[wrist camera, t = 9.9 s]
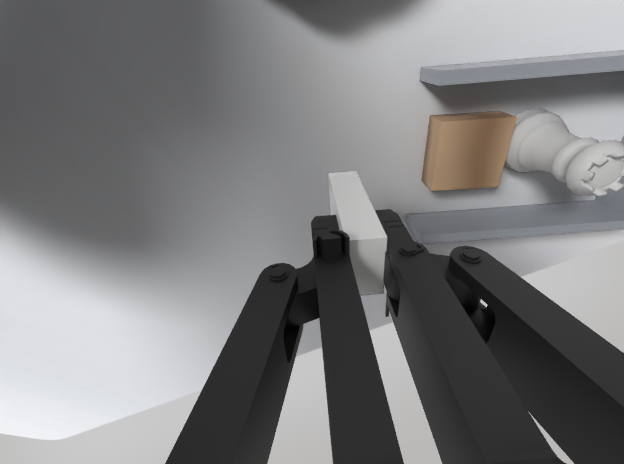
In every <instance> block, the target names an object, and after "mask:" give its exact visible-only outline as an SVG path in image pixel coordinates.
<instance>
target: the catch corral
mask: <svg viewBox="0 0 624 464" xmlns="http://www.w3.org/2000/svg"><path fill="white" fill-rule="evenodd" d="M612 71H624V50H622V51H610V52H598V53H586V54H574V55H563V56H551V57H539V58H527V59H515V60H504V61H492V62H480V63H468V64H456V65H445V66H433V67H421V73H420V81H423V82H427V83H430V84H434V85H437V86H443V85H455V84H467V83H479V82H492V81H504V80H516V79H528V78H540V77H552V76H564V75H576V74H588V73H600V72H612ZM621 143H623V144H624V137H623V139H622V141H621ZM619 183H621V184H623V185H624V178H623V179H622V180H621V181H620V182H619ZM406 223H407V225H408V226H409V228H410V230H411V231H412V233H413V235H414V237H415V238H416V240H417V242H418V243H420V244H428V243H442V242H456V241H470V240H484V239H498V238H511V237H525V236H539V235H553V234H567V233H581V232H595V231H609V230H622V229H624V188H623V189H621V190H620V191H618V192H617V193H615V192H613V191H611V190H607V196H606V197H597V198H596V200H592V201H578V202H565V203H552V204H538V205H525V206H511V207H498V208H484V209H471V210H457V211H444V212H430V213H417V214H407V219H406Z"/></svg>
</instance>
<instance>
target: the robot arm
mask: <svg viewBox="0 0 624 464" xmlns="http://www.w3.org/2000/svg"><path fill="white" fill-rule="evenodd" d="M328 176H329V197H330V215H327V216H316V217H314V219H313V220H312V222H311V228H312V240H313V251H314V257H313V259H312V261H311V262H310V263H309V264H307V265H305V266H303V267H301V268H298V269H295V268H294V267H293V266H291V265H290V264H285V263H278V264H274V265H270V266H268V267H267V268H265V269H264V270H263V271H262V272H261V274H260V276H259V278H258V280H257V282H256V284H255V286H254V288H253V290H252V292H251V294H250V296H249V298H248V300H247V302H246V304H245V306H244V308H243V310H242V312H241V314H240V316H239V318H238V320H237V322H236V324H235V326H234V328H233V330H232V332H231V334H230V336H229V338H228V340H227V342H226V344H225V346H224V348H223V349H222V351H221V353H220V355H219V357H218V359H217V361H216V363H215V365H214V367H213V369H212V371H211V373H210V375H209V377H208V379H207V381H206V383H205V385H204V387H203V389H202V391H201V393H200V396H199V397H198V400H197V401H196V403H195V405H194V407H193V409H192V411H191V413H190V415H189V417H188V419H187V421H186V423H185V425H184V427H183V429H182V431H181V433H180V435H179V437H178V439H177V441H176V443H175V445H174V447H173V449H172V451H171V453H170V455H169V457H168V459H167V461H166V463H165V464H267V462H268V458H269V455H270V451H271V447H272V443H273V440H274V436H275V432H276V428H277V425H278V421H279V417H280V413H281V410H282V406H283V402H284V398H285V394H286V390H287V387H288V383H289V379H290V376H291V372H292V368H293V364H294V361H295V357H296V353H297V349H298V346H299V342H300V338H301V334H302V330H303V324H304V323H307V322H309V321H312V320H315V319H317V318H320V329H321V339H322V350H323V360H324V372H325V382H326V392H327V403H328V415H329V425H330V436H331V446H332V457H333V464H404V463H403V459H402V455H401V451H400V447H399V444H398V440H397V436H396V432H395V428H394V424H393V421H392V417H391V413H390V409H389V405H388V401H387V397H386V394H385V390H384V386H383V382H382V379H381V374H380V370H379V366H378V363H377V359H376V355H375V351H374V347H373V344H372V340H371V336H370V332H369V328H368V324H367V320H366V316H365V313H364V309H363V305H362V301H361V297H360V295H371V294H382V293H383V292H384V284H385V287H386V290H387V299H386V312H385V313H386V317H388V316H389V311H390V313H391V316H392V319H393V322H394V325H395V328H396V331H397V334H398V337H399V339H400V342H401V345H402V348H403V351H404V354H405V356H406V360H407V362H408V365H409V368H410V371H411V374H412V377H413V380H414V383H415V385H416V388H417V391H418V394H419V397H420V400H421V403H422V406H423V409H424V412H425V414H426V417H427V420H428V423H429V426H430V429H431V432H432V435H433V438H434V440H435V443H436V446H437V449H438V452H439V455H440V458H441V461H442V463H443V464H566V463H564V462H562V461H561V460H560V459H559V458H558V457H557V456H556V454H555V453H554V452H553V450H552V449H551V447H550V446H549V444H548V442H547V441H546V439H545V438H544V436H543V434H542V433H541V432H540V430H539V428H538V427H537V425H536V423H535V422H534V420H533V418H532V417H531V415H532V416H533V417H534V418H535V419H536V420H537V422H538V423H539V424H540V425H541V426H542V427H543V428H544V430H546V432H547V433H548V434H549V435H550V436H551V437H552V439H553V440H554V441H555V442H556V443H557V444H558V445H559V447H560V448H561V449H562V450H563V451H564V452H565V453H566V454H567V456H568V457H569V458H570V459H571V460H572V461H573V462H574V464H624V353H623V352H621V351H620V350H619V349H617V348H616V347H615V346H613V345H612V344H610V343H609V342H608V341H606V340H605V339H604V338H602V337H601V336H600V335H598V334H597V333H595V332H594V331H593V330H591V329H590V328H589V327H587V326H586V325H584V324H583V323H582V322H580V321H579V320H578V319H576V318H575V317H574V316H572V315H571V314H570V313H568V312H567V311H566V310H564V309H563V308H561V307H560V306H559V305H557V304H556V303H554V302H553V301H552V300H551V299H549V298H548V297H546V296H545V295H544V294H542V293H541V292H540V291H538V290H537V289H535V288H534V287H533V286H531V285H530V284H529V283H527V282H526V281H525V280H523V279H522V278H521V277H519V276H518V275H517V274H515V273H514V272H512V271H511V270H510V269H508V268H507V267H506V266H504V265H503V264H502V263H500V262H499V261H497V260H496V259H495V258H493V257H492V256H491V255H489V254H488V253H487V252H485V251H483V250H481V249H478V248H475V247H471V246H461V247H457V248H454V249H453V250H452V251H451V254H450V256H443V255H435V254H430V253H429V252H428V251H427V249H426V248H425V247H424V246H423V245H422V244H420V243H418V242H414V241H413V240H412V238H411V236H410V235H409V233H408V231H407V230H406V228H405V226H404V224H403V223H402V221H401V219H400V218H399V216H398V214H396V213H395V212H393V211H392V210H390V209H386V210H374V208H373V206H372V204H371V201H370V199H369V197H368V195H367V193H366V191H365V189H364V187H363V184H362V182H361V180H360V178H359V176H358V174H357V172H356V171H347V172H336V173H328ZM481 299H482V300H483V301H484V302H485V303H486V304H487V305H488V306H487V307H485V306H484V305H482V304H481V303H480V300H481ZM528 411H529V412H530V413H531V415H530V414H529V412H528Z"/></svg>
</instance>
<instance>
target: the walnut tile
mask: <svg viewBox="0 0 624 464" xmlns="http://www.w3.org/2000/svg"><path fill="white" fill-rule="evenodd" d="M516 119H517V117H516V116H513V115H510V114H507V113H504V112H500V111H492V112H477V113H462V114H446V115H431V116H430V120H429V127H428V135H427V142H426V150H425V157H424V165H423V172H422V181H423V183H424V184H425V185H426V186H427V187H428V188H429V189H430V191H439V190H456V189H472V188H489V187H498V185H499V181H500V178H501V174H502V170H503V167H504V163H505V159H506V156H507V152H508V148H509V145H510V141H511V137H512V134H513V130H514V126H515V123H516Z"/></svg>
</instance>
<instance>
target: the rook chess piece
mask: <svg viewBox="0 0 624 464" xmlns="http://www.w3.org/2000/svg"><path fill="white" fill-rule="evenodd" d="M515 116H516V117H517V119H516V123H515V126H514V130H513V134H512V137H511V141H510V145H509V148H508V152H507V156H506V159H505V163H504V166H506V167H509V168H511V169H513V170H516V171H518V172H530V171H540V170H542V171H545V172H549V173H552V174H553V176H554V177H555V178H556V180H558V181H560V182H563V183H567V187H568V189H569V190H570V191H571V193H573V194H576V195H579V196H591V195H594V196H596V197H606V196H607V190H611V191H613V192H615V193H617V192H618V191H620V190H621V189H623V188H624V185H623V184H621V183H619V182H620V181H621V180H622V179H623V178H624V144H623V143H621V142H619V141H617V140H613V141H603V142H600V143H599V141H598V140H595V139H593V138H578V137H577V136H575V135H573V134H571V133H570V132H569V130H568V129H567V126H566V124H565V123H564V121H563V120H562V118H561V117H560V116H558V115H556V114H553V113H551V112H548V111H546V110H544V109H542V108H539V109H528V110H526V111H523V112H521V113H519V114H516V115H515Z"/></svg>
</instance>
